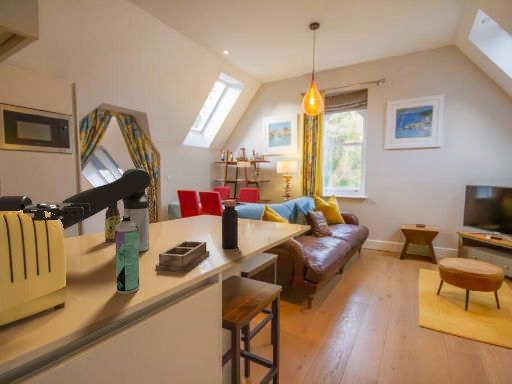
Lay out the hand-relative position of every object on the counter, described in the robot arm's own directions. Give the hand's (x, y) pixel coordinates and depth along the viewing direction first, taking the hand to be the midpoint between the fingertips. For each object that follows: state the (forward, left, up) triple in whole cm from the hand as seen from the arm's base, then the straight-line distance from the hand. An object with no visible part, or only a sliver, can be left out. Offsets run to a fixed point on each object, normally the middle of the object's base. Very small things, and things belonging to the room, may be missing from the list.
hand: (86, 209), depth 65 cm
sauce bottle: (-35, +49, -22) cm, 65 cm away
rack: (+11, +30, -22) cm, 39 cm away
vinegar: (+21, +51, -22) cm, 60 cm away
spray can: (+7, +5, -22) cm, 24 cm away
